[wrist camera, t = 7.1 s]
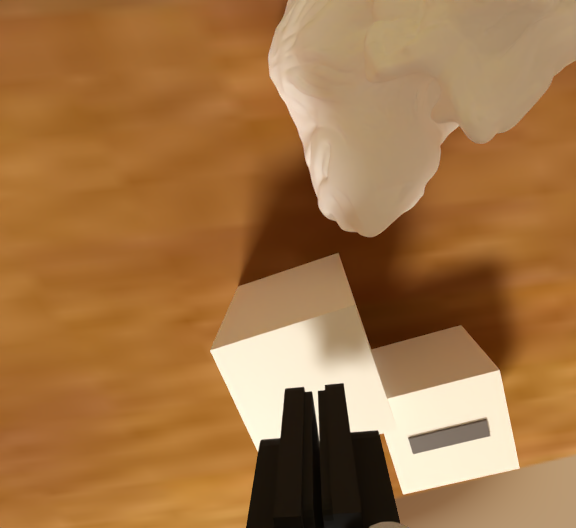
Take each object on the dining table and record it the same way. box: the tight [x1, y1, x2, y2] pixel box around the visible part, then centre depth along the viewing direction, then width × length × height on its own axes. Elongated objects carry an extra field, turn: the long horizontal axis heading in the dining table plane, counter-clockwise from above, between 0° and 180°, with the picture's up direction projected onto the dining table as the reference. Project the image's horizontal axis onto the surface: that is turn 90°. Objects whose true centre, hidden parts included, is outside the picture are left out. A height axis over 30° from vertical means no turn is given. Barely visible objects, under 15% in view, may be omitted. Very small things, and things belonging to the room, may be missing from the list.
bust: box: [268, 0, 576, 237], centre depth 11 cm, size 12×8×11 cm
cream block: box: [210, 253, 397, 451], centre depth 16 cm, size 5×5×6 cm
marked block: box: [371, 325, 519, 494], centre depth 18 cm, size 5×5×4 cm
